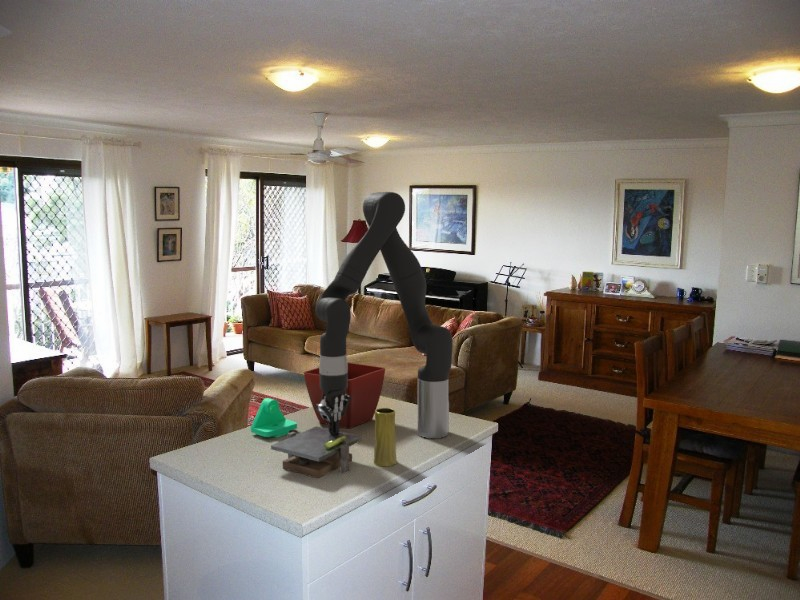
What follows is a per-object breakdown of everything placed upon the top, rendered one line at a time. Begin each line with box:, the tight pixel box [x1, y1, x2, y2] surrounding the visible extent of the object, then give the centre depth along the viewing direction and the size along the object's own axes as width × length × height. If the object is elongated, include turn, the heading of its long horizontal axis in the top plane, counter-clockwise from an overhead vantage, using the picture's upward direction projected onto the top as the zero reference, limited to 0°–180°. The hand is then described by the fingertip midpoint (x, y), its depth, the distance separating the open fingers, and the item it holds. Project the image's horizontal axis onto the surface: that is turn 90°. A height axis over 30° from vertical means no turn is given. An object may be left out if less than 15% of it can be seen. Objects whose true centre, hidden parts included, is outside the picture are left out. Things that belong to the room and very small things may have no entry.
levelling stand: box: [282, 431, 353, 479], centre depth 174 cm, size 14×19×7 cm
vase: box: [373, 407, 398, 467], centre depth 175 cm, size 6×6×14 cm
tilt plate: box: [270, 426, 363, 462], centre depth 173 cm, size 18×16×3 cm
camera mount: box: [250, 397, 298, 438], centre depth 200 cm, size 12×8×10 cm, turn 138°
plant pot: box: [303, 361, 386, 429], centre depth 211 cm, size 19×19×17 cm
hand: (334, 433), depth 179 cm, fingers closed
